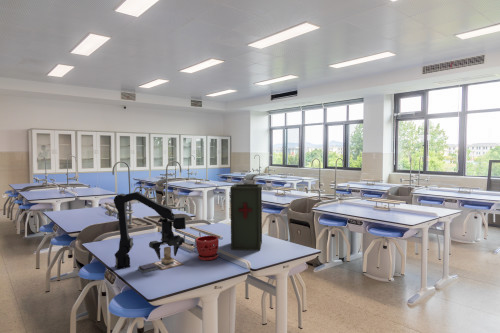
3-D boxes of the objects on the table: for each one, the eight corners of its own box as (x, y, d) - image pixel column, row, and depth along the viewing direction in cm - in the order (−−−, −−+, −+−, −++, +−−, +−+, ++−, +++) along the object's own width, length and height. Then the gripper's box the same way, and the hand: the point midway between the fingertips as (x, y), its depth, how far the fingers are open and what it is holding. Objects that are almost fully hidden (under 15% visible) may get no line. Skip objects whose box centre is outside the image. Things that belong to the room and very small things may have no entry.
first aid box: (261, 242, 224) (261, 184, 222) (260, 250, 206) (259, 187, 204) (235, 241, 226) (234, 184, 224) (231, 249, 208) (230, 187, 206)
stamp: (165, 265, 178) (165, 249, 178) (161, 263, 182) (161, 247, 182) (173, 263, 182) (173, 247, 181) (169, 261, 185) (169, 245, 185)
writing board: (161, 270, 173) (161, 269, 173) (151, 263, 183) (151, 262, 183) (183, 264, 181) (183, 263, 181) (173, 258, 191) (173, 257, 191)
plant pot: (215, 253, 200) (215, 234, 200) (221, 260, 188) (221, 239, 188) (194, 256, 196) (193, 236, 195) (198, 263, 184) (198, 241, 183)
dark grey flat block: (143, 272, 169) (142, 269, 169) (138, 269, 174) (137, 265, 174) (157, 269, 174) (157, 265, 174) (152, 265, 180) (152, 262, 179)
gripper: (156, 235, 169) (157, 265, 170) (189, 229, 181) (189, 257, 181) (148, 231, 178) (148, 259, 178) (179, 226, 189) (180, 253, 190)
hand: (167, 257), depth 182 cm, fingers open, 9 cm apart
